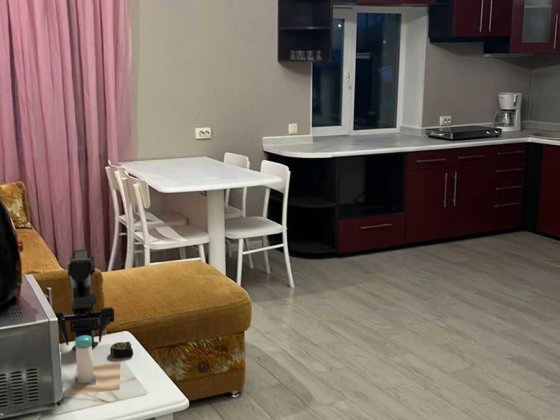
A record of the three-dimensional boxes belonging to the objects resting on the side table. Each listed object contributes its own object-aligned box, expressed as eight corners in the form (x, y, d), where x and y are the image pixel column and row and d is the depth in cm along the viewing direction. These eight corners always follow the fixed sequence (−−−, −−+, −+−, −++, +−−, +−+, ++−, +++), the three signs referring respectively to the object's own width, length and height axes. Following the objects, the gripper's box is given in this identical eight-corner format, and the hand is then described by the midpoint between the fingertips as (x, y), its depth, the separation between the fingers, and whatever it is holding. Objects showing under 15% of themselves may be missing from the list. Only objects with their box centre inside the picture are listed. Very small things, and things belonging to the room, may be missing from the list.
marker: (83, 375, 201) (81, 334, 198) (97, 378, 200) (94, 336, 197) (74, 382, 197) (71, 340, 194) (87, 385, 196) (85, 342, 193)
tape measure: (133, 359, 214) (133, 348, 214) (111, 362, 212) (110, 350, 212) (131, 350, 221) (131, 340, 220) (109, 353, 219) (109, 342, 218)
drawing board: (77, 367, 208) (77, 365, 208) (120, 364, 210) (120, 362, 210) (71, 395, 191) (71, 393, 190) (119, 391, 193) (119, 389, 193)
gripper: (48, 287, 202) (48, 336, 194) (112, 282, 207) (115, 329, 199) (50, 303, 211) (51, 350, 203) (112, 297, 216) (115, 344, 208)
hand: (83, 343), depth 203 cm, fingers open, 9 cm apart
